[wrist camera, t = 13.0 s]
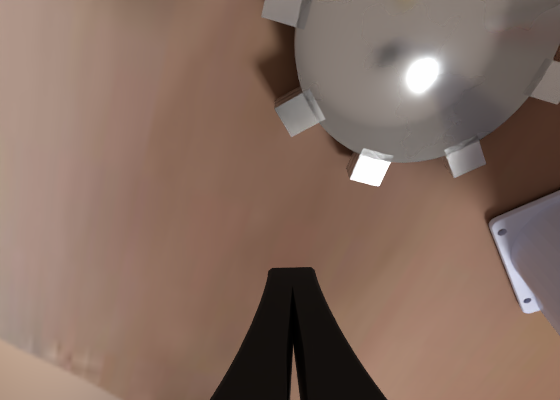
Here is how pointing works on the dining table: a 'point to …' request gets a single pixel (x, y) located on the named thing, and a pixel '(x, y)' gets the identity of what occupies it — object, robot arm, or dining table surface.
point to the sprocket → (416, 74)
